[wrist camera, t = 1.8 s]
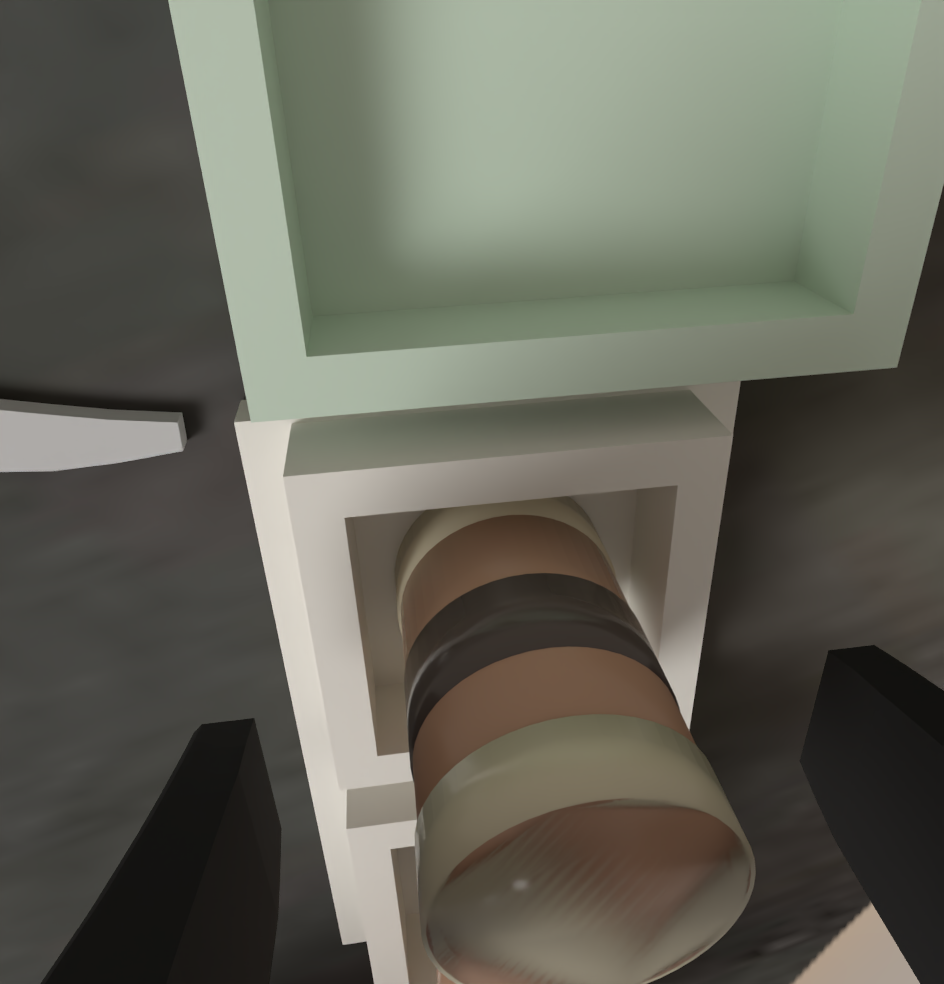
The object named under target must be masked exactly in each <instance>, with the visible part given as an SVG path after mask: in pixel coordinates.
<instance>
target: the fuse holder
mask: <svg viewBox="0 0 944 984" xmlns="http://www.w3.org/2000/svg"><path fill="white" fill-rule="evenodd" d="M740 383H741V381H733V382H722V383H710V384H698V385H687V386H675V387H663V388H651V389H640V390H628V391H616V392H604V393H593V394H581V395H569V396H558V397H546V398H534V399H522V400H511V401H499V402H487V403H476V404H464V405H452V406H440V407H429V408H417V409H405V410H394V411H382V412H370V413H358V414H347V415H335V416H323V417H312V418H300V419H288V420H276V421H265V422H253V423H251V420H250V415H249V410H248V405H247V400H241V402H240V405H239V408H238V411H237V414H236V418H235V421H234V424H235V429H236V434H237V439H238V444H239V449H240V453H241V458H242V463H243V468H244V473H245V477H246V482H247V487H248V492H249V497H250V501H251V506H252V511H253V516H254V521H255V525H256V530H257V535H258V540H259V545H260V550H261V554H262V559H263V564H264V569H265V574H266V578H267V583H268V588H269V593H270V598H271V602H272V607H273V612H274V617H275V622H276V626H277V631H278V636H279V641H280V646H281V651H282V655H283V660H284V665H285V670H286V675H287V679H288V684H289V689H290V694H291V699H292V703H293V708H294V713H295V718H296V723H297V727H298V732H299V737H300V742H301V747H302V752H303V756H304V761H305V766H306V771H307V776H308V780H309V785H310V790H311V795H312V800H313V804H314V809H315V814H316V819H317V824H318V828H319V833H320V838H321V843H322V848H323V853H324V857H325V862H326V867H327V872H328V877H329V881H330V886H331V891H332V896H333V901H334V905H335V910H336V915H337V920H338V925H339V930H340V934H341V939H342V944H343V945H346V944H352V943H359V942H366V941H367V947H368V952H369V958H370V963H371V969H372V974H373V980H374V984H437V975H436V967H435V965H434V964H433V963H432V962H431V960H430V959H429V957H428V955H427V953H426V951H425V949H424V945H423V941H422V937H421V926H420V913H419V899H418V886H417V872H416V859H415V829H416V823H417V814H416V801H415V789H414V782H413V778H412V773H411V768H410V756H409V743H408V730H407V717H406V703H405V690H404V673H405V663H404V650H403V638H402V634H401V632H400V628H399V623H398V615H397V602H396V588H395V563H396V557H397V554H398V550H399V547H400V545H401V543H402V540H403V538H404V536H405V534H406V533H407V531H408V530H409V528H410V527H411V525H412V524H413V523H414V522H415V520H416V519H417V518H418V517H419V516H420V515H421V514H422V513H423V512H424V511H425V510H429V509H439V508H449V507H459V506H470V505H480V504H490V503H500V502H511V501H521V500H531V499H541V498H552V497H562V496H569V497H570V498H571V499H573V500H574V501H575V502H576V503H577V504H578V505H579V506H581V507H582V509H583V510H584V511H585V512H586V514H587V515H588V516H589V518H590V520H591V521H592V523H593V525H594V527H595V529H596V531H597V533H598V535H599V537H600V539H601V541H602V543H603V545H604V547H605V549H606V551H607V553H608V555H609V557H610V560H611V562H612V565H613V567H614V570H615V574H616V579H617V582H618V584H619V586H620V588H621V590H622V592H623V594H624V596H625V598H626V600H627V602H628V604H629V606H630V609H631V610H632V611H633V612H634V614H635V615H636V617H637V619H638V621H639V623H640V624H641V626H642V628H643V630H644V633H645V635H646V637H647V639H648V641H649V643H650V645H651V647H652V649H653V651H654V653H655V655H656V657H657V659H658V661H659V663H660V666H661V668H662V670H663V672H664V674H665V676H666V678H667V680H668V682H669V684H670V686H671V688H672V690H673V692H674V694H675V696H676V699H677V702H678V705H679V708H680V712H681V715H682V717H683V719H684V721H685V723H686V725H687V727H688V729H690V722H691V716H692V709H693V702H694V696H695V689H696V682H697V675H698V669H699V662H700V655H701V649H702V642H703V635H704V628H705V622H706V615H707V608H708V602H709V595H710V588H711V581H712V575H713V568H714V561H715V554H716V548H717V541H718V534H719V528H720V521H721V514H722V507H723V501H724V494H725V487H726V481H727V474H728V467H729V460H730V454H731V447H732V440H733V430H734V423H735V416H736V410H737V403H738V396H739V389H740Z"/></svg>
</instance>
